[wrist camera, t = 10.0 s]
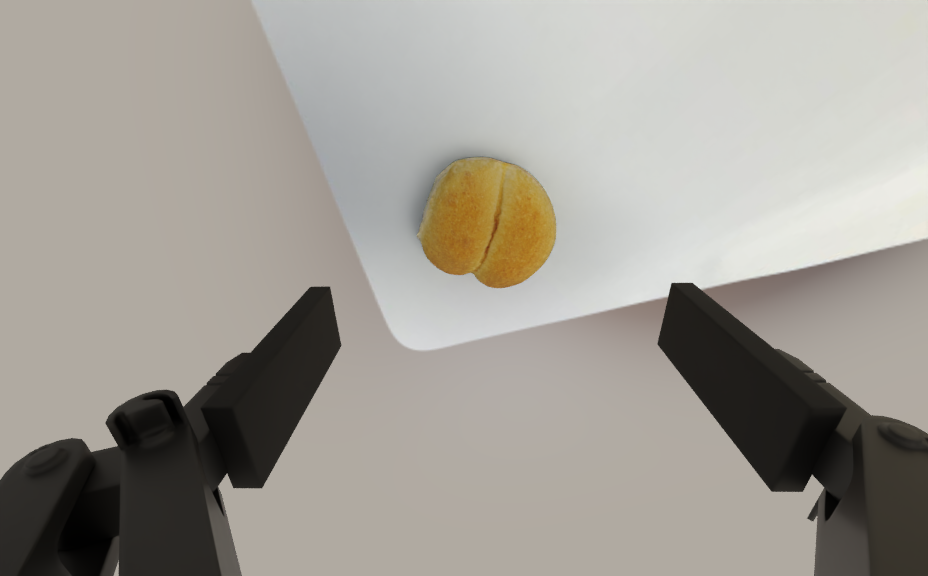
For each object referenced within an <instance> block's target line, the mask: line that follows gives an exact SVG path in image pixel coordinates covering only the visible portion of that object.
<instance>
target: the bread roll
mask: <svg viewBox="0 0 928 576" xmlns="http://www.w3.org/2000/svg"><path fill="white" fill-rule="evenodd" d="M417 237H418V238H419V240H420V242H421V244H422V247H423V251H424V253H425V255H426V257H427V258H428V259H429V260H430V262H431V263H433V264H434V265H435V266H436V267H437V268H439V269H440V270H442V271H444V272H446V273H448V274H454V275H464V274H467V273H473V274H474V275H475V277H476V278H477V279H478V280H479V281H480V282H482V283H483V284H485V285H486V286H489V287H493V288H505V287H509V286H513V285H516V284H519V283H521V282H523V281H525V280H526V279H528V278H529V277H530V276H532V275H533V274H534V273H535V272H536V271H537V270H538V269H539V268H540V267H541V266H542V265H543V264H544V263H545V261H546V260H547V258H548V257H549V255H550V253H551V251H552V248H553V246H554V243H555V240H556V219H555V214H554V210H553V206H552V204H551V201H550V199H549V197H548V195H547V194H546V192H545V190H544V188H543V187H542V186H541V184H540V183H539V182H538V181H537V180H536V179H535V178H534V177H533V176H532V175H531V174H530V173H528V172H527V171H526V170H524V169H523V168H521V167H519V166H517V165H514V164H509V163H504V162H502V161H499V160H495V159H493V158H487V157H472V158H466V159H461V160H457V161H455V162H453V163H451V164H450V165H449V166H448V167H447V168H446V169H445V170H443V171H442V172H441V173H440V174H439V175H438V176H437V177H436V179H435V182H434V184H433V187H432V189H431V192H430V194H429V197H428V200H427V204H426V207H425V208H424V212H423V220H422V222H421V224H420V229H419V232H418V234H417Z"/></svg>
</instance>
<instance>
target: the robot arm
mask: <svg viewBox="0 0 928 576" xmlns="http://www.w3.org/2000/svg"><path fill="white" fill-rule="evenodd" d="M658 345H659V347H660V348H661V349H662V351H663V352H664V353H665V354H666V356H667V357H668V358H669V359H670V361H671V362H672V363H673V365H674V366H675V367H676V369H677V370H678V371H679V372H680V374H681V375H682V376H683V378H684V379H685V380H686V382H687V383H688V384H689V385H690V387H691V388H692V389H693V391H694V392H695V393H696V394H697V396H698V397H699V398H700V400H701V401H702V402H703V404H704V405H705V406H706V407H707V409H708V410H709V411H710V413H711V414H712V415H713V416H714V418H715V419H716V420H717V422H718V423H719V424H720V425H721V427H722V428H723V429H724V431H725V432H726V433H727V434H728V436H729V437H730V438H731V439H732V441H733V442H734V444H735V445H736V446H737V447H738V449H739V450H740V451H741V452H742V454H743V455H744V456H745V458H746V459H747V460H748V462H749V463H750V464H751V465H752V467H753V468H754V469H755V471H756V472H757V473H758V474H759V476H760V477H761V478H762V480H763V481H764V482H765V483H766V485H767V486H768V487H769V489H770V490H771V491H773V492H774V491H775V492H781V491H783V492H786V491H787V492H803V490H804V488H805V486H806V485H807V483H808V481H809V479H810V477H811V475H813V476H814V477H815V478H816V479H817V480H818V481H819V482H820V483H821V484H822V485H823V486H824V489H823V491H822V493H821V495H820V496H819V498H818V500H817V502H816V503H815V506H814V507H813V509H812V511H811V512H810V514H809V516H808V519H810V520H811V521H814V519H815V517H816V516H818V518H817V536H816V537H817V538H816V554H815V570H814V576H928V434H927V433H926V432H924V431H922V430H920V429H918V428H917V427H915V426H912V425H910V424H907V423H905V422H902V421H900V420H896V419H893V418H889V417H884V416H873V415H872V416H871V415H870V414H869V413H867V412H866V411H865V410H864V409H862V408H861V407H860V406H858V405H857V404H856V403H855V402H853V401H852V400H851V399H849V398H848V397H847V396H846V395H844V394H843V393H842V392H840V391H839V390H838V389H836V388H835V387H834V386H833V385H831V384H830V383H826V380H825V379H824V378H822V377H821V376H820V375H818V374H817V373H814V372H813V370H812V369H811V368H809V367H808V366H807V365H806V364H804V363H803V362H802V361H800V360H799V359H797V358H795V357H793V356H791V355H789V354H787V353H785V352H783V351H782V350H780V349H774V348H772V347H771V346H770V345H769V344H768V343H766V342H765V341H764V340H763V339H761V338H760V337H759V336H757V335H756V334H755V333H754V332H753V331H751V330H750V329H749V328H748V327H746V326H745V325H744V324H743V323H741V322H740V321H739V320H738V319H736V318H735V317H734V316H733V315H731V314H730V313H729V312H728V311H726V310H725V309H724V308H723V307H722V306H720V305H719V304H718V303H716V302H715V301H714V300H713V299H712V298H710V297H709V296H708V295H706V294H705V293H704V292H703V291H702V290H700V289H699V288H698V287H697V286H695V285H694V284H693V283H672V284H671V288H670V292H669V297H668V301H667V306H666V310H665V314H664V318H663V323H662V327H661V331H660V336H659V340H658ZM340 347H341V342H340V337H339V332H338V327H337V321H336V316H335V312H334V305H333V300H332V295H331V290H330V287H310V288H309V289H308V290H307V291H306V292H305V294H304V295H303V296H302V297H301V298H300V299H299V300H298V301H297V302H296V303H295V305H294V306H293V307H292V308H291V309H290V310H289V311H288V312H287V313H286V314H285V315H284V317H283V318H282V319H281V320H280V321H279V322H278V323H277V324H276V325H275V326H274V328H273V329H272V330H271V331H270V332H269V333H268V334H267V335H266V336H265V337H264V339H263V340H262V341H261V342H260V343H259V344H258V345H257V346H256V347H255V348H254V350H253V351H252V352H251V353H241V354H240V355H238V356H237V357H235V358H233V359H232V360H230V361H228V362H227V363H226V364H225V365H224V366H223V367H222V368H221V369H220V370H219V371H218V372H217V373H216V376H213V377H212V378H211V379H210V381H208V382H207V385H206V386H204V387H202V389H201V390H200V391H199V392H198V393H197V394H196V395H195V396H194V397H193V398H192V399H191V400H190V401H189V402H188V403H187V404H186V405H185V406H184V407H183V406H182V404H181V401H180V399H179V397H178V395H177V394H176V393H175V392H174V391H170V390H157V391H152V392H149V393H145V394H142V395H139V396H137V397H135V398H133V399H130V400H128V401H127V402H125V403H124V404H122V405H121V406H119V407H117V408H116V409H115V410H114V411H113V412H112V413H111V414H110V415H109V416H108V419H107V421H106V425H107V427H108V428H109V430H110V432H111V434H112V436H113V437H114V439H115V441H116V443H117V444H118V446H117V447H112V448H108V449H103V450H99V451H94V452H90V450H89V449H88V447H87V445H86V444H85V443H84V442H83V440H82V439H73V438H71V439H65V440H59V441H56V442H54V443H51V444H48V445H45V446H42V447H40V448H39V449H36V450H34V451H32V452H30V453H29V454H28V455H26V456H25V457H23V458H22V459H20V460H19V461H17V462H16V463H15V464H14V465H13V466H12V467H11V468H10V469H9V470H8V471H7V472H6V473H5V474H4V476H3V477H2V479H1V480H0V576H113V575H114V572H115V569H116V566H117V563H118V560H119V576H242V575H241V571H240V567H239V563H238V559H237V555H236V551H235V547H234V543H233V539H232V535H231V530H230V527H229V523H228V518H227V514H226V510H225V507H224V502H223V498H222V494H221V492H220V490H219V488H218V485H219V484H220V482H221V481H222V480H223V478H224V477H225V475H226V474H227V473H228V476H229V478H230V481H231V483H232V486H233V488H262V487H263V486H264V483H265V482H266V480H267V478H268V477H269V475H270V473H271V471H272V469H273V468H274V466H275V464H276V462H277V460H278V458H279V457H280V455H281V453H282V451H283V450H284V448H285V446H286V444H287V442H288V441H289V439H290V437H291V435H292V433H293V431H294V430H295V428H296V426H297V424H298V423H299V420H300V419H301V417H302V415H303V414H304V412H305V410H306V408H307V406H308V405H309V403H310V401H311V399H312V398H313V396H314V394H315V392H316V390H317V388H318V387H319V385H320V383H321V381H322V379H323V378H324V376H325V374H326V372H327V371H328V369H329V367H330V365H331V363H332V361H333V360H334V358H335V356H336V354H337V353H338V351H339V349H340Z"/></svg>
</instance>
